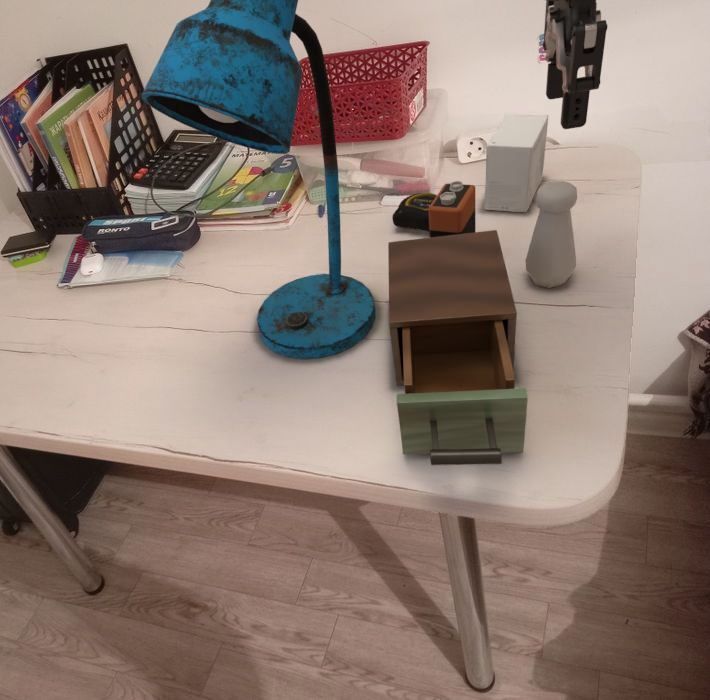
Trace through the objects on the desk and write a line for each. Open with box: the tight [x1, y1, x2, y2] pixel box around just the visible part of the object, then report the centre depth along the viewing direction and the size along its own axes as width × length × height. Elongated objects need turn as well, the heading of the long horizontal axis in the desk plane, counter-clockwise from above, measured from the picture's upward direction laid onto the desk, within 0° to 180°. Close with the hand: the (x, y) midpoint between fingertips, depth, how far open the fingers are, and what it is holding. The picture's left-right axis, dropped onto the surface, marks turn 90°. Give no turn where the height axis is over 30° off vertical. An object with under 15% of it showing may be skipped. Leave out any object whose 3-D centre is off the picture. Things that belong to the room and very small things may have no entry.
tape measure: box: [391, 192, 438, 233], centre depth 94 cm, size 7×7×4 cm
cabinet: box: [387, 229, 518, 386], centre depth 73 cm, size 16×13×10 cm
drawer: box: [396, 320, 529, 466], centre depth 63 cm, size 19×11×8 cm, turn 169°
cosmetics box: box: [483, 114, 549, 213], centre depth 92 cm, size 10×6×10 cm, turn 148°
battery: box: [428, 180, 476, 238], centre depth 85 cm, size 4×7×10 cm, turn 147°
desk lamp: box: [141, 0, 377, 360], centre depth 69 cm, size 16×22×45 cm
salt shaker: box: [525, 180, 578, 289], centre depth 75 cm, size 6×6×13 cm
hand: (564, 110), depth 65 cm, fingers open, 7 cm apart
